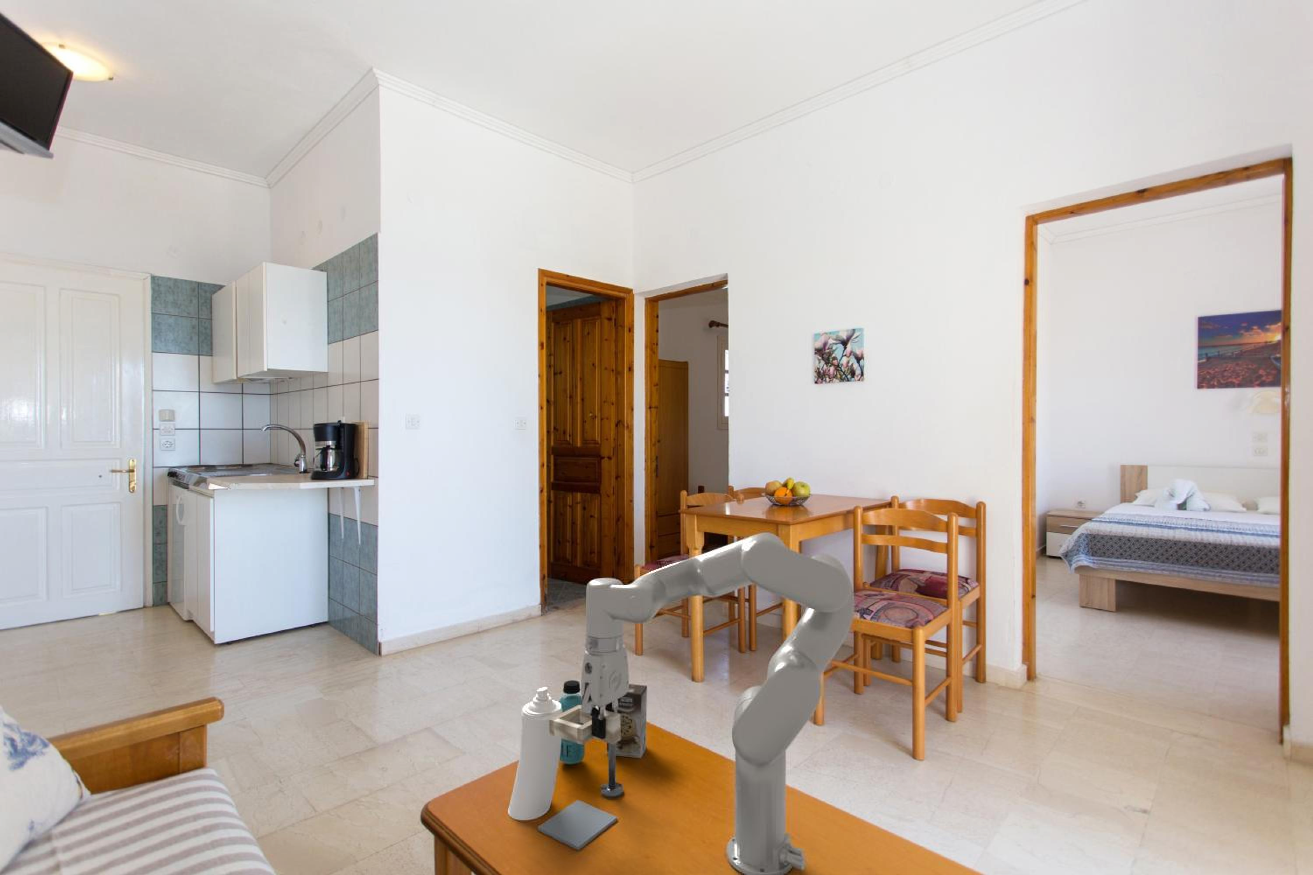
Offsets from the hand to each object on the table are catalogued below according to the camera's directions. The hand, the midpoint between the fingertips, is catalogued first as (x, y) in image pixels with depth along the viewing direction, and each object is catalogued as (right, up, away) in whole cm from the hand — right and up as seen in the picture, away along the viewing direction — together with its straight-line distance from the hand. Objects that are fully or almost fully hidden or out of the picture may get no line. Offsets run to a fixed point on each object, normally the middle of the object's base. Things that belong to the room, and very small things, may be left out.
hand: (603, 733), depth 127 cm
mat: (-6, -21, +4) cm, 22 cm away
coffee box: (+3, -21, +35) cm, 41 cm away
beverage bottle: (-10, -21, +29) cm, 37 cm away
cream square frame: (-3, -1, +2) cm, 4 cm away
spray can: (-16, -21, +11) cm, 28 cm away
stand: (+1, -21, +16) cm, 26 cm away
